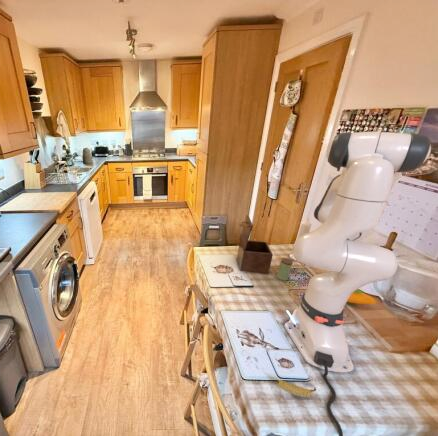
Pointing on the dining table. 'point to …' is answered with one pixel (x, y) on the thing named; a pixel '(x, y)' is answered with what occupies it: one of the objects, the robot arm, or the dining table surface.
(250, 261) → the box
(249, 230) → the lid
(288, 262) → the spice jar
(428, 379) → the dining table surface
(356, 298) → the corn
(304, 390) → the banana
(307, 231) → the candle
